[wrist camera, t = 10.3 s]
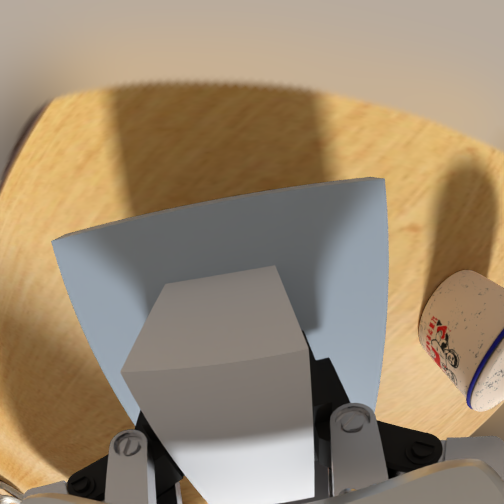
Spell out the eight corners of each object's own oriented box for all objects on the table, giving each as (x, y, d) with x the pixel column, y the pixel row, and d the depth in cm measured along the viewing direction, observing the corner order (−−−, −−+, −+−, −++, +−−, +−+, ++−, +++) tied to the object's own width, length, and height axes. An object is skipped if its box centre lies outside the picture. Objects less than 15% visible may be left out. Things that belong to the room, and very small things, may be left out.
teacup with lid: (401, 313, 20) (488, 407, 9) (472, 245, 19) (573, 296, 8) (434, 381, 23) (488, 454, 12) (491, 326, 22) (555, 381, 11)
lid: (370, 177, 11) (483, 196, 5) (366, 405, 14) (404, 484, 8) (65, 234, 10) (-34, 289, 5) (156, 437, 14) (140, 518, 8)
